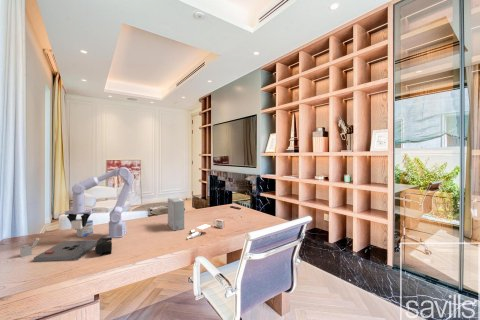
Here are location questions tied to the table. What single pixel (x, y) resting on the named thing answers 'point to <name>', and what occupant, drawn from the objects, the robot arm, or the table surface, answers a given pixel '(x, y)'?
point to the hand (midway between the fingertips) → (79, 226)
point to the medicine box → (86, 229)
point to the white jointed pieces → (194, 234)
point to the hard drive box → (176, 213)
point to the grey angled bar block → (27, 249)
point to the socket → (67, 251)
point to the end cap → (103, 246)
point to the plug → (77, 224)
